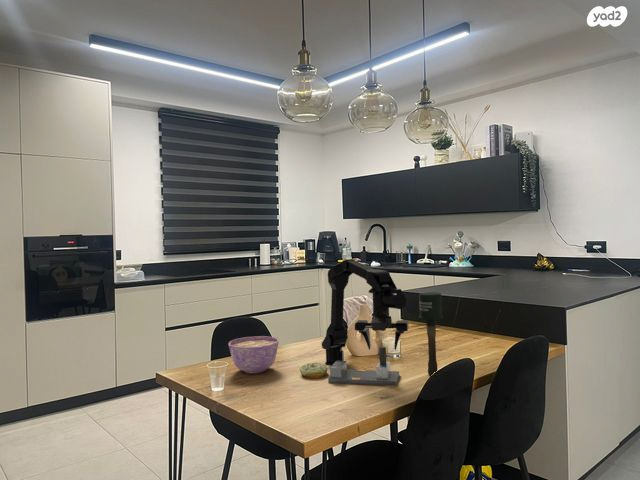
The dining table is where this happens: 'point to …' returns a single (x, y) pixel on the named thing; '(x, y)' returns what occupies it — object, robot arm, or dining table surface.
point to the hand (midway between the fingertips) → (382, 349)
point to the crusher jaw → (382, 365)
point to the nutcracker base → (359, 376)
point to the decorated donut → (313, 370)
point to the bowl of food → (254, 353)
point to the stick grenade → (431, 323)
